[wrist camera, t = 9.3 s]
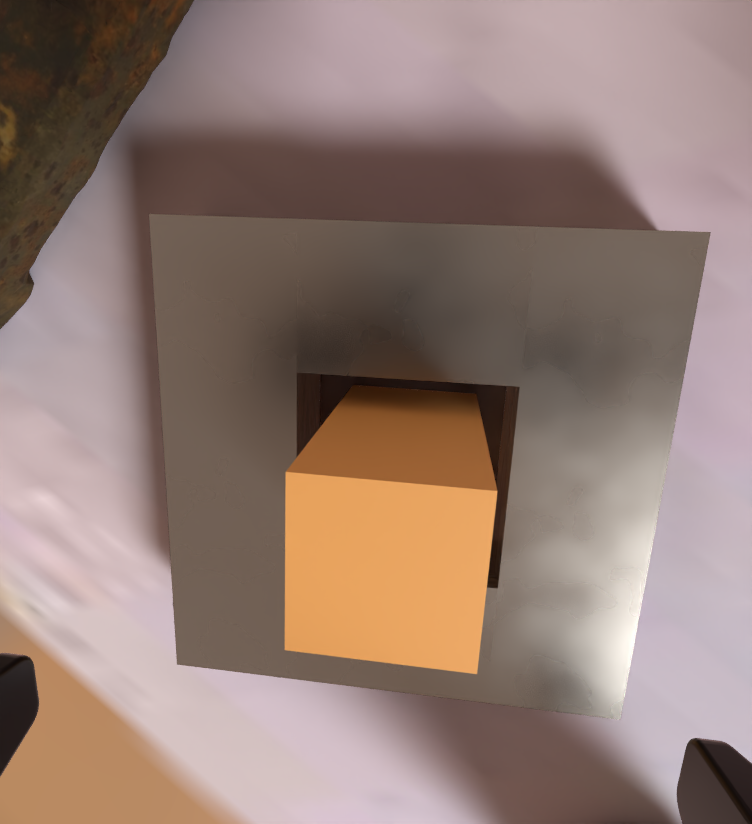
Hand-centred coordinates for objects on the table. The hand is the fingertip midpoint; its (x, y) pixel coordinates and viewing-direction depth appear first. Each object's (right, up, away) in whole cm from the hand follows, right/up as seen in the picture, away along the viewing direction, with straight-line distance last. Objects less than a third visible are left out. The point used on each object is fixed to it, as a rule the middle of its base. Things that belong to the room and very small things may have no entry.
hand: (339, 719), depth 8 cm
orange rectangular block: (+2, +3, +11) cm, 12 cm away
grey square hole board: (+2, +3, +11) cm, 12 cm away
